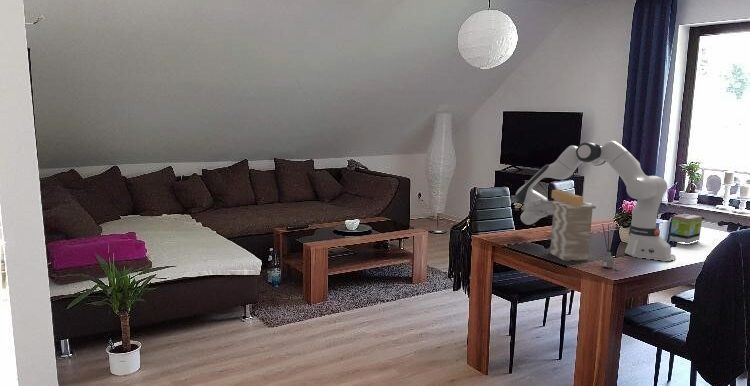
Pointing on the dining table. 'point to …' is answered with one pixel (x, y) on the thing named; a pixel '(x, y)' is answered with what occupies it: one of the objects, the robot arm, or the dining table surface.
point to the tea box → (685, 228)
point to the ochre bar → (567, 197)
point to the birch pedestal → (571, 230)
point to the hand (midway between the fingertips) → (550, 200)
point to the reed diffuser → (609, 253)
